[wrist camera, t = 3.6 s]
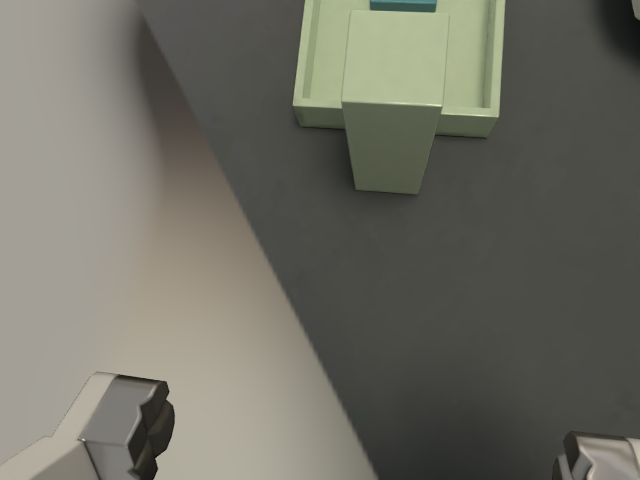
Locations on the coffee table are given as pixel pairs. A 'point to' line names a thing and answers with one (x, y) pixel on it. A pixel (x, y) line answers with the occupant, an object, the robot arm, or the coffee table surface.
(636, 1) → the geometric ball
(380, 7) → the block
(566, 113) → the coffee table surface
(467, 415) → the coffee table surface
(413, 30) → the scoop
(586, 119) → the coffee table surface
